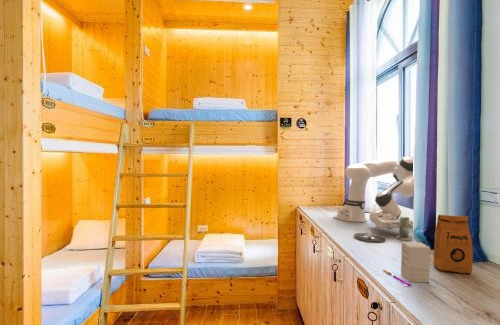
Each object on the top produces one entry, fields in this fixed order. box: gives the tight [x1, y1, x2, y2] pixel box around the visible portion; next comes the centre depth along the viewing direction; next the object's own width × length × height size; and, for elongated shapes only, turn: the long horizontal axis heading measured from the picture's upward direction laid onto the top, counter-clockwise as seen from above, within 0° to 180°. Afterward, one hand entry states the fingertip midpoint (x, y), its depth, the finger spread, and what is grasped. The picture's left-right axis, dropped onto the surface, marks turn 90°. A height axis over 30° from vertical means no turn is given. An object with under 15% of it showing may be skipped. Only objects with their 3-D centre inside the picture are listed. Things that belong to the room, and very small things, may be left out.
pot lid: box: [353, 230, 387, 244], centre depth 174 cm, size 16×16×5 cm
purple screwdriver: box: [382, 269, 413, 287], centre depth 117 cm, size 3×1×16 cm
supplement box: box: [400, 241, 431, 283], centre depth 117 cm, size 7×7×13 cm
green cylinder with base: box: [395, 216, 413, 242], centre depth 175 cm, size 8×8×12 cm
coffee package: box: [433, 214, 474, 274], centre depth 127 cm, size 10×12×22 cm
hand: (404, 226), depth 175 cm, fingers open, 8 cm apart
